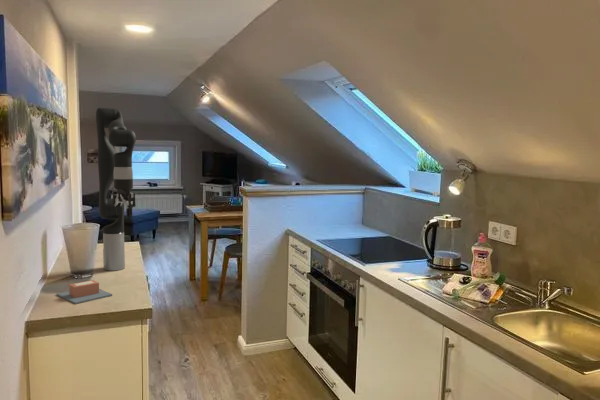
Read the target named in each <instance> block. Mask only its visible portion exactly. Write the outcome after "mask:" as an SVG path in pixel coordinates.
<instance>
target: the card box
mask: <svg viewBox="0 0 600 400" xmlns="http://www.w3.org/2000/svg"><path fill="white" fill-rule="evenodd" d="M68 286H69V288H68V289H69V290H68V291H69V295H71V296H73V297H74V298H77V297H82V296H87V295H92V294H97V293H99V289H100V283H99V282H98V281H96V280H94V279H92V280H87V281H86V280H85V281H80V282H75V283H69V285H68Z"/></svg>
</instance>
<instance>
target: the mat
mask: <svg viewBox="0 0 600 400" xmlns="http://www.w3.org/2000/svg"><path fill="white" fill-rule="evenodd" d="M55 295H56V296H58V297H60V298H62V299H63V300H66V301H68V302H70V303H72V304H74V305H78V304H82V303H87V302H91V301H96V300H100V299H104V298H109V297H113V293H111V292H109V291H105V290H103V289H100V288H99V293H97V294H92V295H87V296H82V297H77V298H74V297H73V296H71V295H69V290H66V291H63V292H57V293H56V294H55Z"/></svg>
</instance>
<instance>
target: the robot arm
mask: <svg viewBox="0 0 600 400" xmlns="http://www.w3.org/2000/svg"><path fill="white" fill-rule="evenodd" d="M95 123H96V133H97V167H98V182H99V183H98V184H99V191H98V193H99V194H98V197H99V198H98V213H99V214H98V215H99V217H100V218H101V219H102V220H103V219H115V221H113V222H112V223H109V224H107V225H105V226H103V228H102V240H103V241H102V242H103V243H102V244H103V247H102V248H103V249H102V252H103V253H102V255H103V257H102V258H103V259H102V260H103V270H105V271H121V270H124V269H125V268H126V261H125V259H126V255H125V216H126V218H133V208H136V192H131V190H133V189H134V184H133V183H134V177H133V175H134V173H133V153H134V148H135V144H136V140H137V136H136V133H135V131H134V130H132V129H127V127H126V126H125V124H124V123H125V122H124V119H123V114H122V111H121V110H119V109H118V108H110V107H109V108H108V107H98V108H96V111H95ZM106 129H108V137H107V134H106ZM119 147H121V148H123V147H124V148H125V147H126V148H125V150H124V151H120V152H118V151H117V150H116V149H115V148H119ZM111 185H113V189H114V190H113V191H112V198H107V195H108V192H109V189H110V188H111ZM125 208H126V209H125ZM125 210H126V211H125ZM125 212H126V215H125Z"/></svg>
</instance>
